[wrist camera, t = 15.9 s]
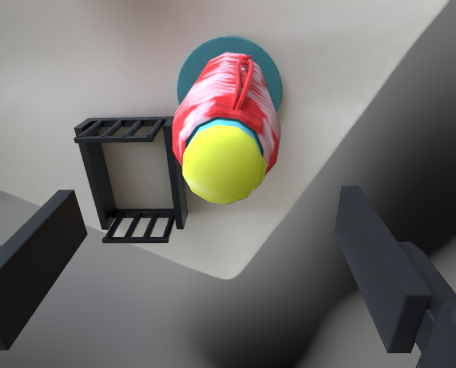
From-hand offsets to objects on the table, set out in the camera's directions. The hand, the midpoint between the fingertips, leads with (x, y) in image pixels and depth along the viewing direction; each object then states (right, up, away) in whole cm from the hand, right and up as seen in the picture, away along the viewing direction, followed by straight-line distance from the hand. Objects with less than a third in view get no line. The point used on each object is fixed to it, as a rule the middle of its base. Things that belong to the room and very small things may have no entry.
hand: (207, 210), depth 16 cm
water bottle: (+1, +13, +24) cm, 27 cm away
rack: (-11, +3, +30) cm, 32 cm away
